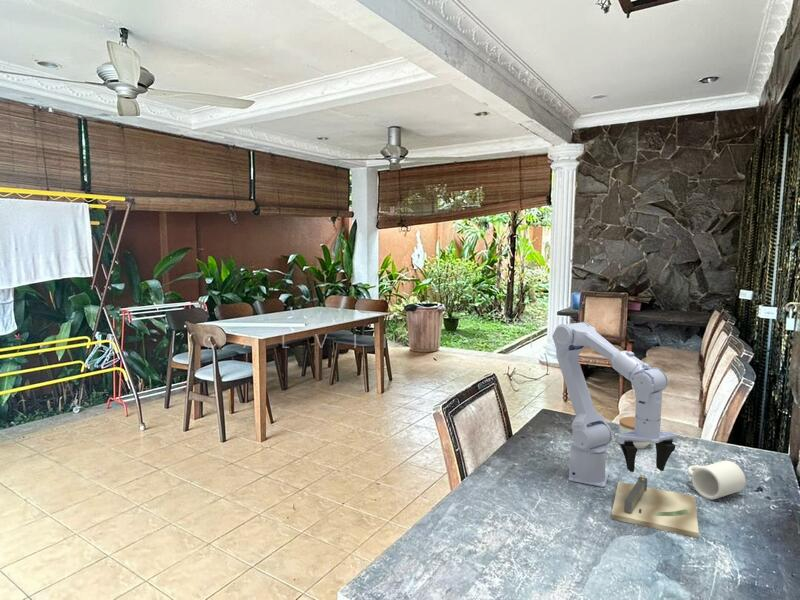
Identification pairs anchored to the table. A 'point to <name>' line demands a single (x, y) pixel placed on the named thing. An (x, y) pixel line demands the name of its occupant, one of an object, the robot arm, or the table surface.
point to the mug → (717, 479)
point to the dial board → (658, 510)
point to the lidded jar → (628, 426)
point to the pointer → (635, 494)
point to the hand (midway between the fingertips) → (645, 469)
